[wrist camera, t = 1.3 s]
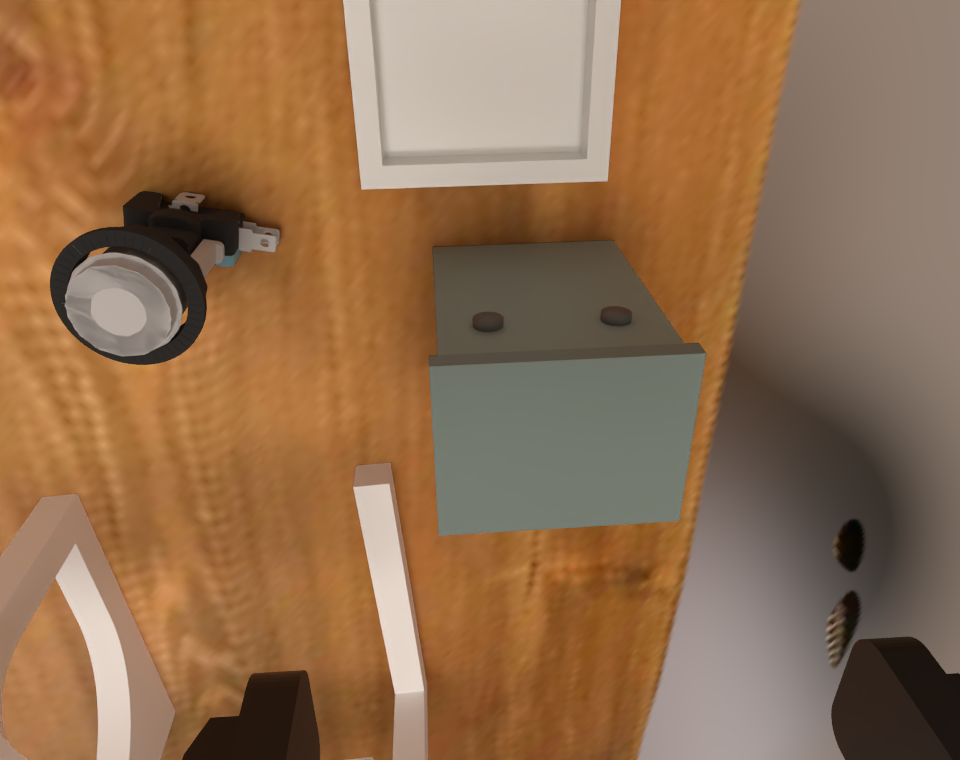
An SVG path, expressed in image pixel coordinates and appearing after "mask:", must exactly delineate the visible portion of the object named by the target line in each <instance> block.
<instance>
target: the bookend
mask: <svg viewBox="0 0 960 760" xmlns="http://www.w3.org/2000/svg"><path fill="white" fill-rule="evenodd" d="M353 488H354V493H355V498H356V503H357V508H358V513H359V518H360V523H361V528H362V533H363V538H364V543H365V548H366V553H367V558H368V563H369V568H370V573H371V578H372V582H373V587H374V592H375V597H376V602H377V607H378V612H379V617H380V622H381V627H382V632H383V637H384V642H385V647H386V652H387V657H388V662H389V667H390V672H391V677H392V682H393V686H394V691H395V709H394V739H393V760H428V725H427V681H426V675H425V669H424V663H423V657H422V651H421V645H420V639H419V633H418V627H417V621H416V615H415V609H414V603H413V596H412V590H411V584H410V578H409V572H408V566H407V560H406V554H405V548H404V542H403V536H402V530H401V524H400V518H399V512H398V506H397V499H396V493H395V487H394V481H393V475H392V469H391V463H380V464H370V465H360V466H356V470H355V477H354V485H353ZM55 578H56V580H57V582H58V584H59V586H60V588H61V590H62V592H63V594H64V596H65V598H66V600H67V601H68V603H69V605H70V607H71V609H72V611H73V613H74V615H75V617H76V619H77V621H78V623H79V625H80V627H81V630H82V632H83V635H84V637H85V640H86V643H87V646H88V650H89V653H90V657H91V661H92V666H93V671H94V677H95V684H96V692H97V704H98V747H97V760H160V759H161V756H162V753H163V750H164V747H165V744H166V741H167V738H168V734H169V731H170V728H171V725H172V722H173V719H174V716H175V713H176V712H175V710H174V707H173V705H172V703H171V701H170V699H169V696H168V694H167V692H166V690H165V687H164V685H163V683H162V681H161V679H160V676H159V674H158V672H157V670H156V667H155V665H154V663H153V661H152V659H151V656H150V654H149V652H148V650H147V648H146V645H145V643H144V641H143V639H142V636H141V634H140V632H139V630H138V628H137V625H136V623H135V621H134V619H133V616H132V614H131V612H130V610H129V608H128V605H127V603H126V601H125V599H124V596H123V594H122V592H121V590H120V588H119V585H118V583H117V581H116V579H115V576H114V574H113V572H112V570H111V568H110V565H109V563H108V561H107V559H106V557H105V554H104V552H103V550H102V548H101V545H100V543H99V541H98V539H97V537H96V534H95V532H94V530H93V528H92V525H91V523H90V521H89V519H88V517H87V514H86V512H85V510H84V508H83V505H82V503H81V501H80V499H79V497H78V494H69V495H59V496H49V497H42V498H41V499H40V501H39V502H38V504H37V505H36V506H35V508H34V509H33V511H32V512H31V514H30V515H29V516H28V518H27V519H26V521H25V522H24V524H23V525H22V526H21V528H20V529H19V531H18V532H17V534H16V535H15V536H14V538H13V539H12V541H11V542H10V543H9V545H8V546H7V548H6V549H5V551H4V552H3V553H2V555H1V556H0V760H29V759H27V758H25V757H24V756H23V755H21V754H20V753H19V752H17V751H16V750H15V749H14V748H13V747H12V746H11V745H10V744H9V742H8V739H7V736H6V733H5V729H4V724H3V716H2V695H3V687H4V681H5V677H6V673H7V669H8V666H9V663H10V660H11V657H12V655H13V652H14V650H15V647H16V645H17V643H18V641H19V639H20V637H21V635H22V634H23V632H24V630H25V628H26V627H27V625H28V623H29V622H30V620H31V618H32V617H33V615H34V613H35V611H36V610H37V608H38V606H39V605H40V603H41V601H42V600H43V598H44V596H45V594H46V593H47V591H48V589H49V588H50V586H51V584H52V583H53V581H54V579H55ZM349 760H373V757H367V758H358V759H349Z"/></svg>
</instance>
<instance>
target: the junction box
mask: <svg viewBox="0 0 960 760" xmlns="http://www.w3.org/2000/svg"><path fill="white" fill-rule="evenodd" d="M433 267H434V289H435V311H436V332H437V354H438V355H429V372H430V390H431V407H432V425H433V442H434V460H435V477H436V495H437V512H438V530H439V536H442V535H458V534H475V533H491V532H508V531H524V530H541V529H557V528H573V527H590V526H606V525H623V524H639V523H656V522H672V521H679V519H680V512H681V506H682V500H683V494H684V488H685V482H686V475H687V469H688V463H689V457H690V451H691V445H692V438H693V432H694V426H695V420H696V414H697V408H698V402H699V395H700V389H701V383H702V377H703V371H704V365H705V358H706V352H705V351H704V350H703V348H702V347H701V345H700V344H699V343H684V342H683V341H682V339H681V338H680V336H679V335H678V334H677V332H676V331H675V329H674V328H673V326H672V325H671V323H670V322H669V320H668V319H667V318H666V316H665V315H664V313H663V312H662V310H661V309H660V307H659V306H658V305H657V303H656V302H655V300H654V299H653V297H652V296H651V294H650V293H649V291H648V290H647V289H646V287H645V286H644V284H643V283H642V281H641V280H640V278H639V277H638V275H637V274H636V273H635V271H634V270H633V268H632V267H631V265H630V264H629V262H628V261H627V259H626V258H625V257H624V255H623V254H622V252H621V251H620V249H619V248H618V246H617V245H616V243H615V242H614V241H613V240H605V241H579V242H553V243H527V244H502V245H476V246H450V247H433Z"/></svg>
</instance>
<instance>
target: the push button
mask: <svg viewBox="0 0 960 760" xmlns="http://www.w3.org/2000/svg"><path fill="white" fill-rule="evenodd" d="M186 197H195V198H186ZM204 199H205V196H204V195H202V194H195V193H188V192H182V193H180V194H179V195H178V196H177V197H176V198H175V200H173V201H172V203H169V202H163V200H162V194H160V193H154V192H147V191H143V192H139V193H138V194H137V195H136V196H134V197H133V198H132V199H131V200H130V201H128V202H127V203H126V204H125V205H124V206H123V214H124V227H107V228H100V229H96V230H92V231H90V232H87V233H85V234H83V235H81V236H79V237H78V238H76V239H75V240H73V241H72V242H71V243H70V244H68V245H67V246H66V247H65V248H64V249H63V250H62V252H61V253H60V254H59V256H58V257H57V259H56V261H55V263H54V265H53V268H52V272H51V277H50V291H51V297H52V301H53V304H54V307H55V309H56V311H57V313H58V315H59V317H60V319H61V320H62V322H63V323H64V325H65V326H66V327H67V329H68V330H69V331H70V332H71V333H72V334H73V335H74V336H75V337H76V338H77V339H78V340H79V341H80V342H82V343H83V344H84V345H85V346H87V347H88V348H90V349H91V350H93V351H95V352H97V353H98V354H100V355H102V356H105V357H107V358H110V359H112V360H115V361H119V362H123V363H128V364H137V365H148V364H156V363H161V362H165V361H168V360H170V359H173V358H175V357H177V356H179V355H180V354H182V353H183V352H185V351H186V350H187V349H188V348H189V347H190V346H191V345H192V344H193V343H194V342H195V340H196V338H197V337H198V335H199V334H200V332H201V330H202V328H203V325H204V322H205V318H206V310H207V304H206V292H207V284H206V281H205V277H206V276H207V274H208V273H209V272H210V270H211V269H212V267H213V266H214V265H218V266H222V267H232V266H234V265H235V264H236V261H237V260H238V258H239V256H240V255H241V253H242V251H246V252H252V249H254V250H261V251H268V252H275V251H276V246H277V245H278V244H279V234H280V231H279V230H278V229H272V228H265V227H258V226H256V223H252V222H245V221H244V214H242V213H239V212H236V211H229V210H218V209H211V208H204V207H198V204H200V203H201V202H202V201H203V200H204ZM266 232H269V233H271V234H272V235H266V234H265V233H266ZM261 243H262V244H269V246H267V247H264V246H262V245H261ZM104 247H109V248H108V249H107V250H106V251H105V252H104V253H103V254H101V255H96V256H92V257H90V258H88V259H87V257H88V255H89V253H90V252H91V251H93V250H96V249H99V248H104ZM187 307H188V316H187V320H186V322H185V323H184V324H183V325H181V326H180V324H181V317H182V314H183V313H184V311H185V310H186V308H187Z"/></svg>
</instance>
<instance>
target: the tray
mask: <svg viewBox="0 0 960 760" xmlns="http://www.w3.org/2000/svg"><path fill="white" fill-rule="evenodd" d="M343 5H344V15H345V25H346V36H347V46H348V56H349V66H350V77H351V87H352V97H353V107H354V118H355V128H356V138H357V148H358V159H359V169H360V179H361V189H362V190H364V189H393V188H422V187H451V186H481V185H510V184H539V183H568V182H598V181H608V169H609V156H610V142H611V129H612V115H613V102H614V89H615V75H616V62H617V48H618V35H619V21H620V8H621V0H343Z"/></svg>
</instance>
